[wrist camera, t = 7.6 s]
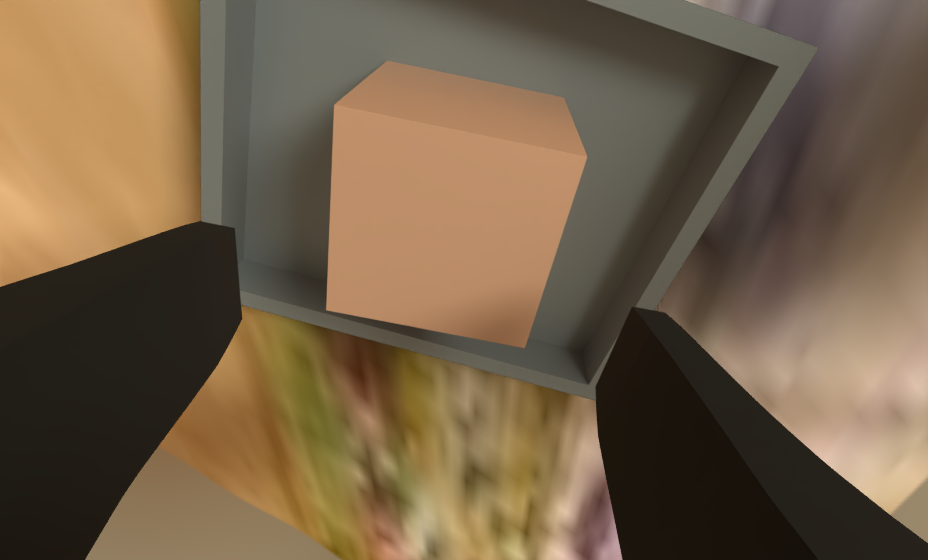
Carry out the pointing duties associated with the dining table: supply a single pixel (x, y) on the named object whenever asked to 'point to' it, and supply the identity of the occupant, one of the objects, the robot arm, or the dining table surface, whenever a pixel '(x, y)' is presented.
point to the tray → (512, 64)
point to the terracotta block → (448, 201)
